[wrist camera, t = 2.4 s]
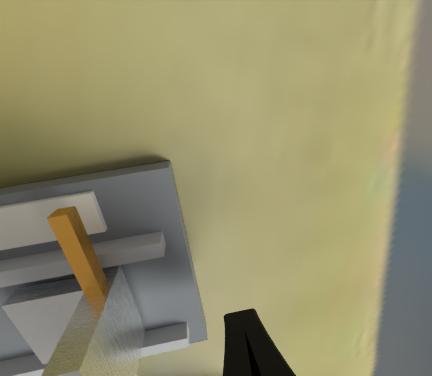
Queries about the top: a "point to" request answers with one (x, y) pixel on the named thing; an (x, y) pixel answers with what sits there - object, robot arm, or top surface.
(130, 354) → the gauge pointer slider
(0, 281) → the gauge base
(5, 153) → the top surface
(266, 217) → the top surface
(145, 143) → the top surface
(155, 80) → the top surface
